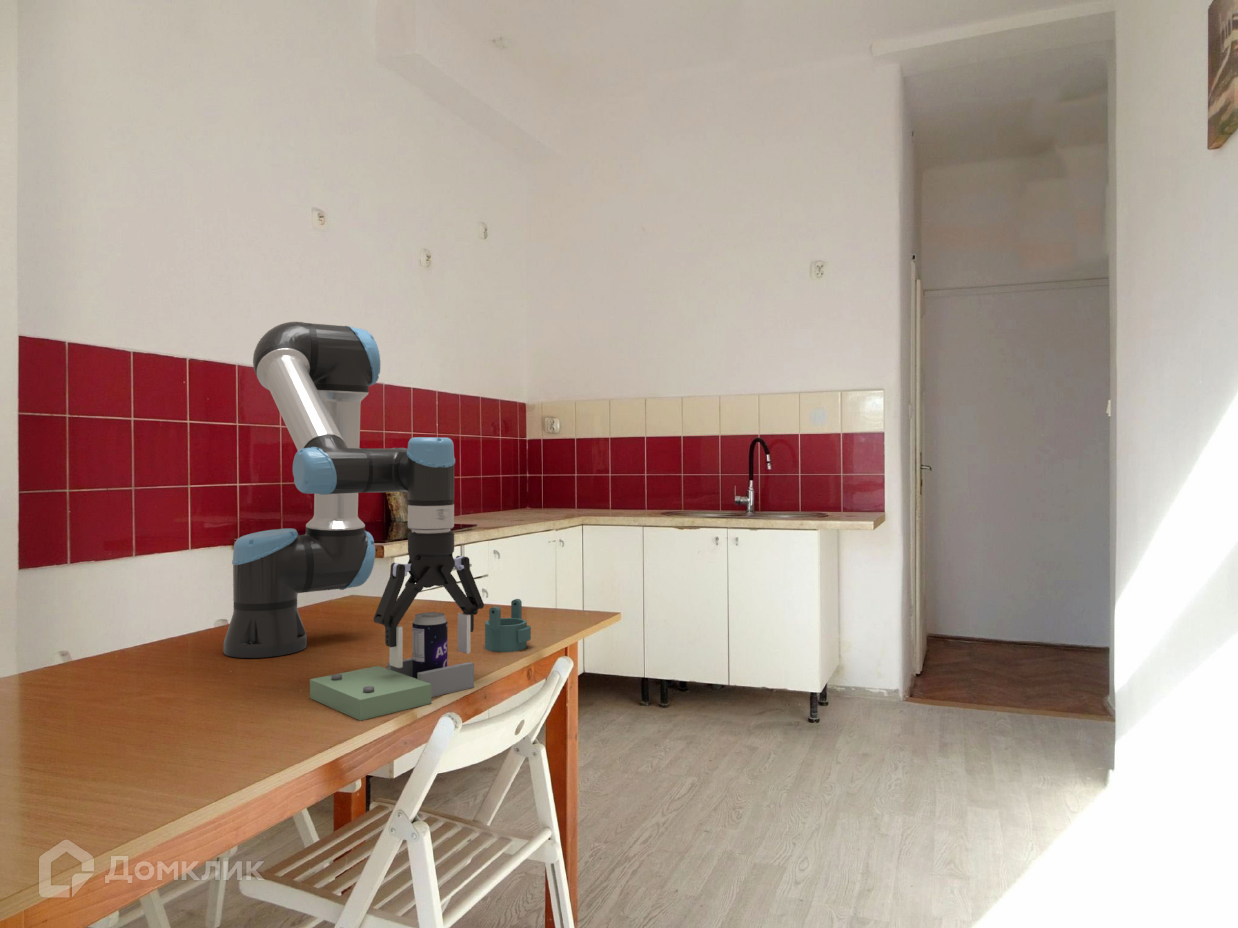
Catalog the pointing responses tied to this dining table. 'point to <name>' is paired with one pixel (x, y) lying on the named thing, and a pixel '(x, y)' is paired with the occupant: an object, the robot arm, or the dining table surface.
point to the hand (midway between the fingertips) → (431, 658)
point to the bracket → (507, 630)
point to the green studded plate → (388, 688)
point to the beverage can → (429, 642)
